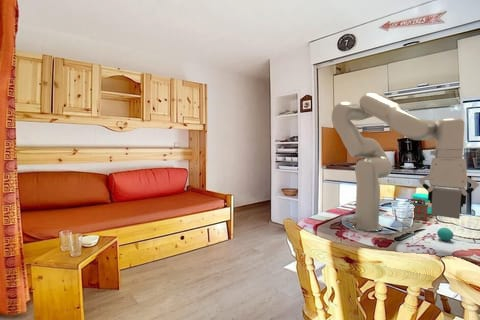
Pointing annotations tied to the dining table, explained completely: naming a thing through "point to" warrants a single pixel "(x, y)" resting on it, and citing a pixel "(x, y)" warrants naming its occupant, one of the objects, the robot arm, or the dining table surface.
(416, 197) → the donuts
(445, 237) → the ball
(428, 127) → the robot arm
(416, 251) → the dining table surface
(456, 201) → the taupe cardboard-like cube
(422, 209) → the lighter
